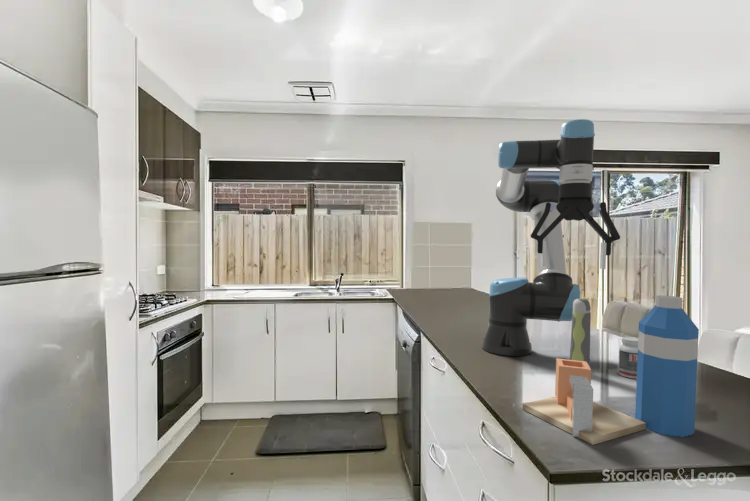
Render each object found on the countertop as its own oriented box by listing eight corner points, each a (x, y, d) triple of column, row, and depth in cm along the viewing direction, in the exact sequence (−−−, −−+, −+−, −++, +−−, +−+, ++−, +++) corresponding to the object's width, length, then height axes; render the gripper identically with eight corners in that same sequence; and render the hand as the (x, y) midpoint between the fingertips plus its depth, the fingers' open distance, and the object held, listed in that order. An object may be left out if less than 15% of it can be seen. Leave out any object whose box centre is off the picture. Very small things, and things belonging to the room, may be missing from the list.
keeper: (568, 420, 80) (569, 375, 80) (585, 423, 79) (586, 377, 79) (572, 436, 73) (574, 387, 73) (591, 439, 72) (593, 389, 72)
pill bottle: (647, 380, 105) (648, 342, 105) (623, 378, 106) (624, 340, 106) (637, 373, 111) (639, 337, 110) (614, 371, 112) (616, 335, 112)
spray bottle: (573, 368, 113) (575, 297, 113) (592, 372, 110) (594, 299, 109) (566, 372, 110) (569, 298, 109) (585, 376, 106) (588, 300, 106)
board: (522, 409, 85) (522, 403, 85) (572, 398, 91) (572, 393, 91) (592, 444, 70) (593, 437, 70) (645, 429, 77) (646, 422, 77)
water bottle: (623, 415, 83) (628, 293, 82) (666, 415, 84) (671, 293, 83) (659, 437, 74) (665, 300, 73) (707, 437, 74) (713, 300, 74)
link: (597, 425, 75) (598, 382, 75) (561, 419, 77) (563, 378, 77) (585, 397, 89) (586, 361, 88) (555, 393, 91) (556, 358, 90)
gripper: (522, 182, 103) (520, 266, 104) (636, 180, 95) (633, 270, 95) (522, 186, 110) (520, 264, 111) (628, 184, 102) (625, 268, 102)
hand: (572, 267), depth 103 cm, fingers open, 13 cm apart
